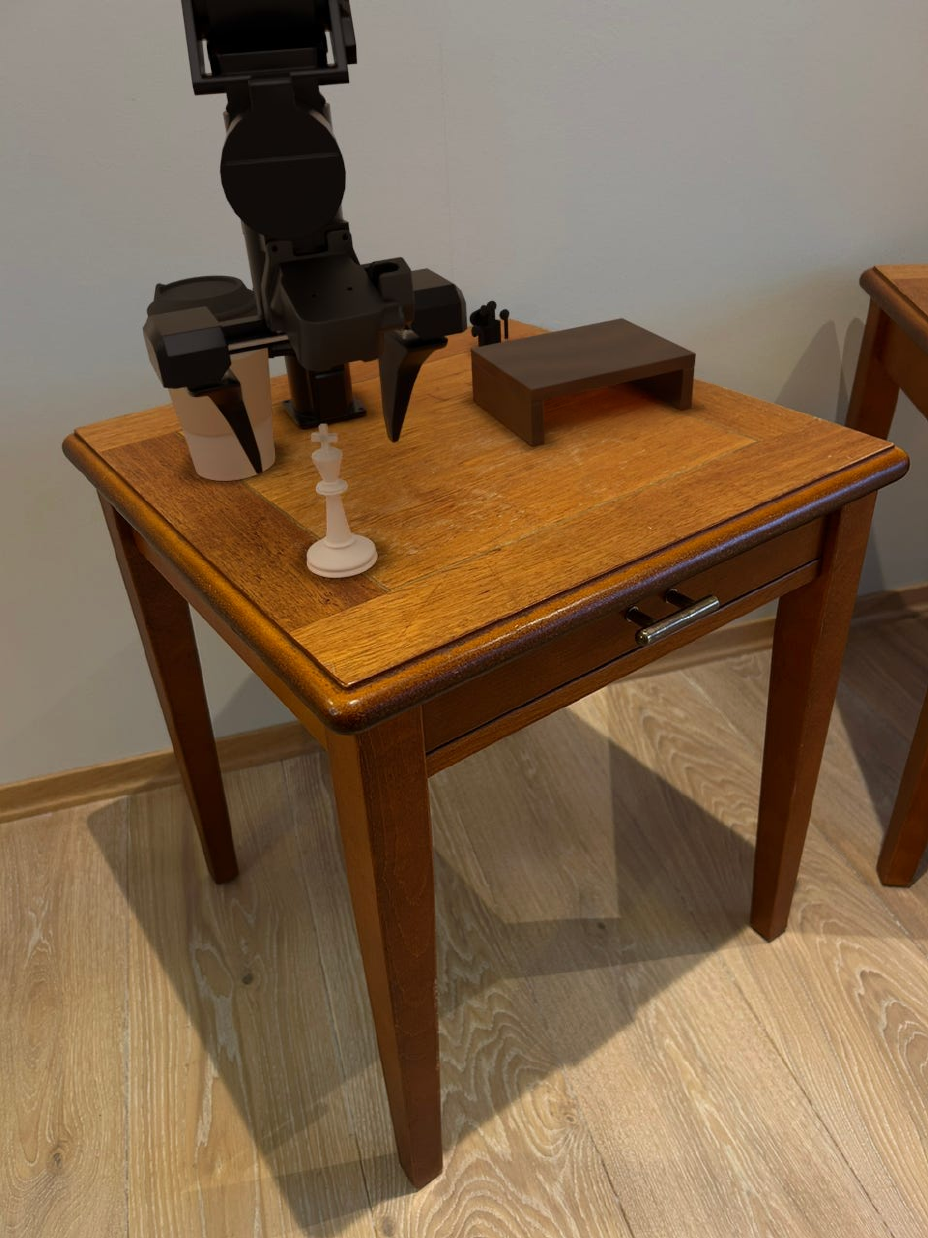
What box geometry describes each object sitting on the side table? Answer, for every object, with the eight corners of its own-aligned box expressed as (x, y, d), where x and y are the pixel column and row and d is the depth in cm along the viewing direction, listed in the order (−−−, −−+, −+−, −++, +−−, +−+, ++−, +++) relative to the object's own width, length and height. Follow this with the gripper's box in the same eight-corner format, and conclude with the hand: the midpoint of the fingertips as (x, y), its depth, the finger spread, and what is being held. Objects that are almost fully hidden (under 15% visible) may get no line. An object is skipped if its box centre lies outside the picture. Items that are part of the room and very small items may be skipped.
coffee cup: (288, 435, 86) (259, 261, 78) (290, 478, 79) (258, 291, 70) (185, 447, 85) (144, 272, 77) (177, 492, 78) (131, 304, 69)
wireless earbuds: (478, 362, 99) (476, 313, 96) (458, 359, 100) (455, 310, 97) (513, 342, 104) (512, 294, 101) (493, 339, 105) (491, 291, 102)
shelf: (473, 400, 91) (470, 348, 88) (620, 368, 95) (622, 317, 93) (531, 446, 81) (531, 389, 78) (691, 408, 86) (696, 353, 83)
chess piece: (366, 580, 65) (348, 442, 59) (297, 576, 66) (272, 439, 60) (385, 543, 69) (370, 411, 63) (320, 540, 70) (299, 409, 64)
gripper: (143, 255, 45) (210, 545, 54) (501, 200, 51) (510, 470, 60) (113, 213, 54) (175, 469, 63) (423, 171, 60) (440, 410, 68)
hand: (327, 455), depth 63 cm, fingers open, 9 cm apart
